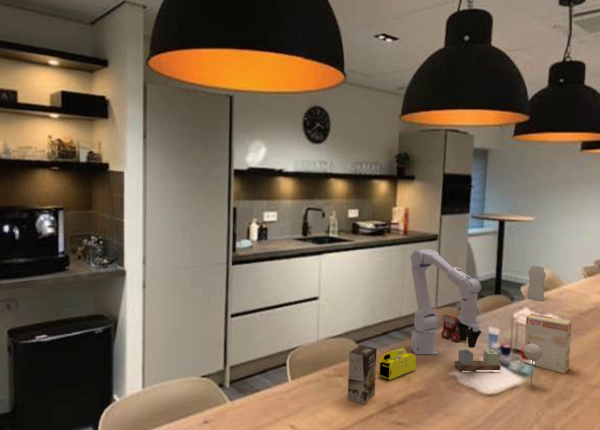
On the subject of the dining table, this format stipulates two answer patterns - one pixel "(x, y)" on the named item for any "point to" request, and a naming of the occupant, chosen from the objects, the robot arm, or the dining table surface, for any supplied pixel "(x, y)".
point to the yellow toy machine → (396, 363)
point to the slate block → (465, 357)
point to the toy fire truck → (450, 328)
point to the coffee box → (362, 374)
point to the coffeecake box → (550, 341)
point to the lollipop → (533, 354)
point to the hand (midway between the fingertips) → (467, 343)
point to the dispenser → (536, 283)
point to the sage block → (490, 357)
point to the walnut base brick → (476, 366)
